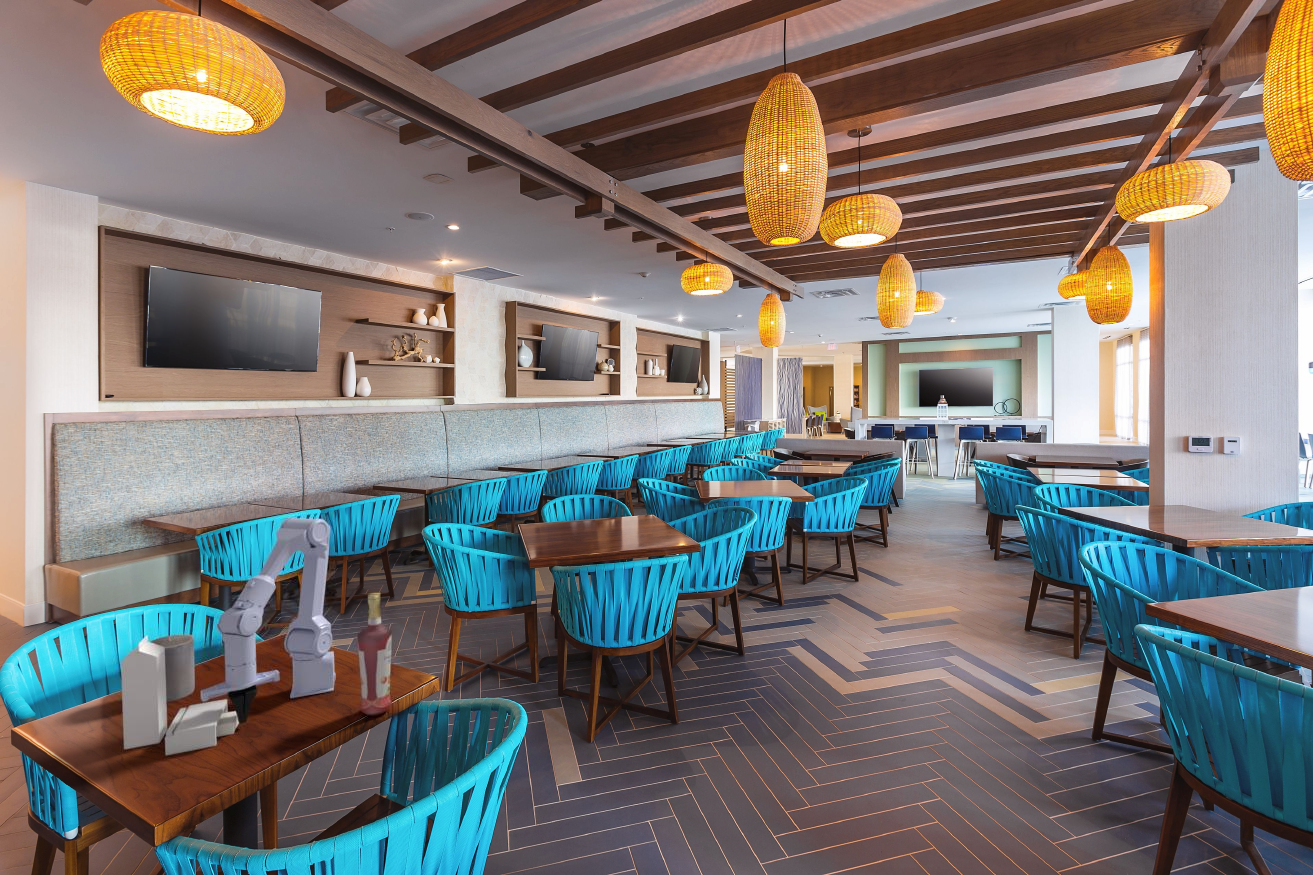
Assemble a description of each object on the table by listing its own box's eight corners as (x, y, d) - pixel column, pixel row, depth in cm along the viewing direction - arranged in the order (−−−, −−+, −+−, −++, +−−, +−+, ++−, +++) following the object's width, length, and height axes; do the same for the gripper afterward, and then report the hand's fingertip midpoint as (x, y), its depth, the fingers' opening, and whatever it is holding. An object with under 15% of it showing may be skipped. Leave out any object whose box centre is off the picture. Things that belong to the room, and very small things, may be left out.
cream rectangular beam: (239, 721, 139) (239, 710, 139) (233, 733, 134) (233, 722, 134) (185, 730, 135) (185, 719, 135) (177, 743, 130) (177, 732, 130)
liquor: (387, 717, 141) (385, 598, 140) (354, 719, 140) (352, 599, 139) (396, 702, 148) (394, 589, 147) (365, 704, 147) (362, 590, 146)
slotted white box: (227, 717, 141) (227, 698, 141) (215, 745, 129) (215, 724, 129) (182, 726, 137) (181, 706, 137) (165, 755, 125) (164, 733, 125)
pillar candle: (135, 701, 149) (133, 641, 148) (175, 683, 158) (174, 627, 158) (166, 706, 147) (165, 645, 146) (205, 688, 156) (204, 630, 155)
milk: (167, 730, 135) (165, 632, 135) (159, 743, 130) (157, 641, 129) (132, 736, 133) (130, 636, 132) (122, 750, 127) (120, 646, 127)
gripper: (272, 647, 144) (273, 704, 144) (196, 666, 133) (198, 726, 134) (281, 655, 139) (283, 713, 140) (204, 675, 129) (205, 738, 129)
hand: (242, 721), depth 136 cm, fingers closed
